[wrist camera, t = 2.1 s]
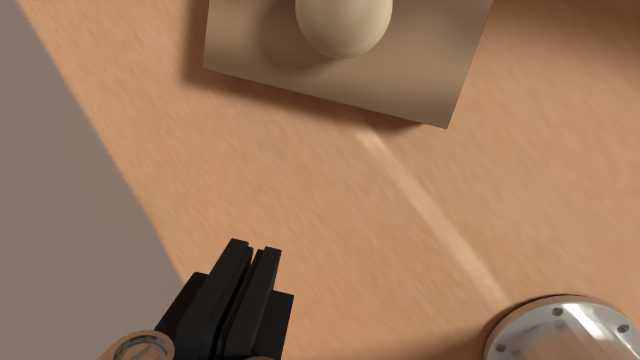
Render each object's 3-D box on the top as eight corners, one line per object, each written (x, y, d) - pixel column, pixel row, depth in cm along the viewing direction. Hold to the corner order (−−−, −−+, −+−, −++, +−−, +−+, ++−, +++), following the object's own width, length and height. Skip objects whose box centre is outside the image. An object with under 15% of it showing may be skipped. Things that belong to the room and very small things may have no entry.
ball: (398, -23, 20) (413, -50, 15) (373, 67, 21) (380, 70, 17) (312, -45, 20) (300, -78, 15) (294, 48, 21) (278, 44, 17)
